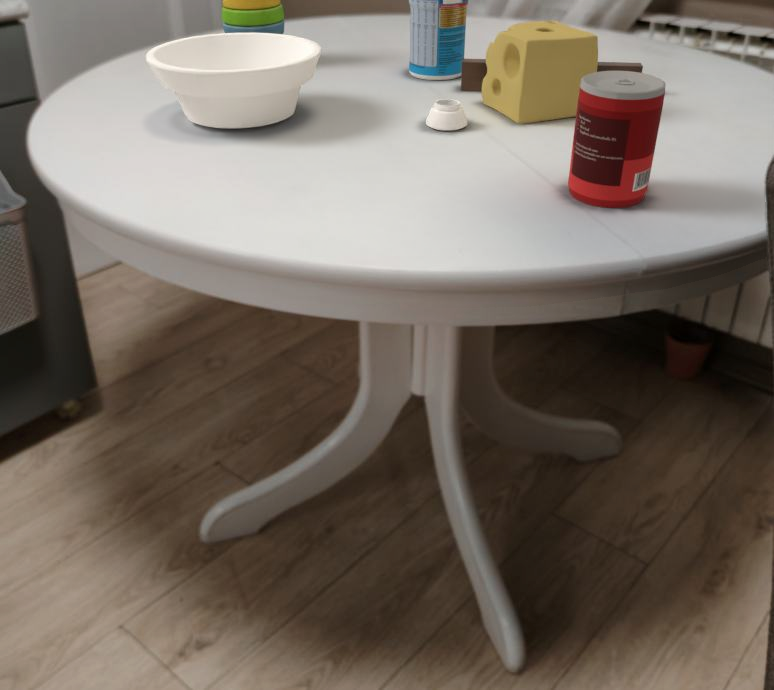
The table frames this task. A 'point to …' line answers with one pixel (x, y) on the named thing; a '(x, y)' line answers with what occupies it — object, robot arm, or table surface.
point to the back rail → (478, 69)
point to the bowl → (236, 76)
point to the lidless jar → (446, 115)
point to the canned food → (615, 137)
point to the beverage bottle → (437, 38)
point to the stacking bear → (253, 16)
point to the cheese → (538, 70)
